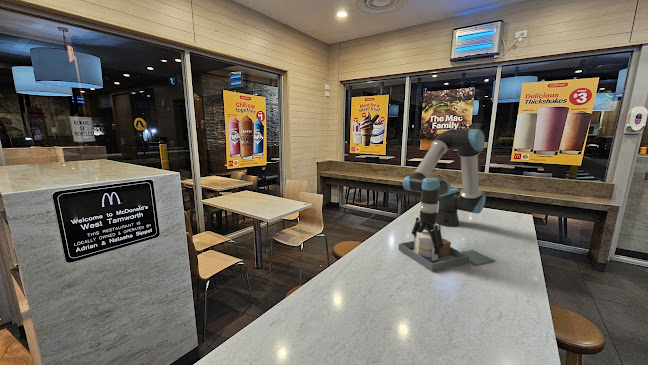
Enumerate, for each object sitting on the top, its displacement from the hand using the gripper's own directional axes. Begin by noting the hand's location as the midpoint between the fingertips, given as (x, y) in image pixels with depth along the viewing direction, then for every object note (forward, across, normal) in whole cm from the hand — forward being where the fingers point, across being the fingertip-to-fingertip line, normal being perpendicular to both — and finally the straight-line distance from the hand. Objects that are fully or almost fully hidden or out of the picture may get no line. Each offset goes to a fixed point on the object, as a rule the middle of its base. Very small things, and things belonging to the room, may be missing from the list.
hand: (425, 254), depth 131 cm
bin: (+2, 0, +4) cm, 4 cm away
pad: (+2, +9, +22) cm, 24 cm away
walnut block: (+2, 0, +10) cm, 10 cm away
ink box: (+2, 0, 0) cm, 2 cm away
